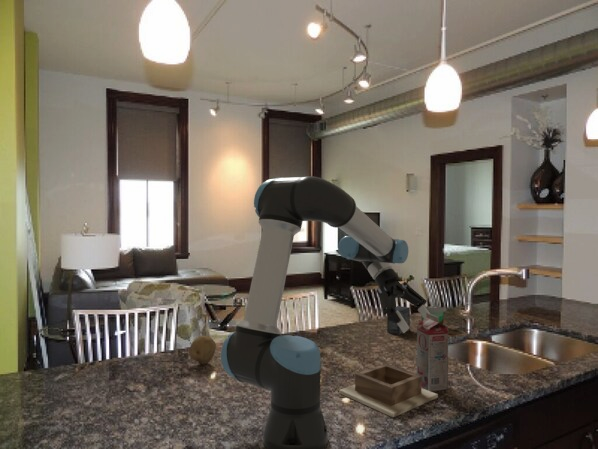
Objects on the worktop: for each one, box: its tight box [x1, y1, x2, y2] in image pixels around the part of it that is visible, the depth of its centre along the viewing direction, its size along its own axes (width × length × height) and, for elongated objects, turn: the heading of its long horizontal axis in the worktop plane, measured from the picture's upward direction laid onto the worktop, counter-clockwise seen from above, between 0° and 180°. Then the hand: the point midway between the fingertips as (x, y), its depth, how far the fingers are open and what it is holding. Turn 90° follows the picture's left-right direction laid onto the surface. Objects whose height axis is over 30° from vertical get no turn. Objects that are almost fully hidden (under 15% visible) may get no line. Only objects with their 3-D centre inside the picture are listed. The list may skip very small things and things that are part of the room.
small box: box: [386, 305, 411, 336], centre depth 199 cm, size 11×6×10 cm, turn 141°
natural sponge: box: [188, 335, 217, 365], centre depth 156 cm, size 9×9×10 cm
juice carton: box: [416, 313, 449, 392], centre depth 137 cm, size 7×7×22 cm
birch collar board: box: [338, 363, 439, 418], centre depth 130 cm, size 20×20×6 cm
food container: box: [420, 305, 447, 325], centre depth 205 cm, size 12×6×10 cm, turn 73°
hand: (419, 327), depth 142 cm, fingers open, 13 cm apart
